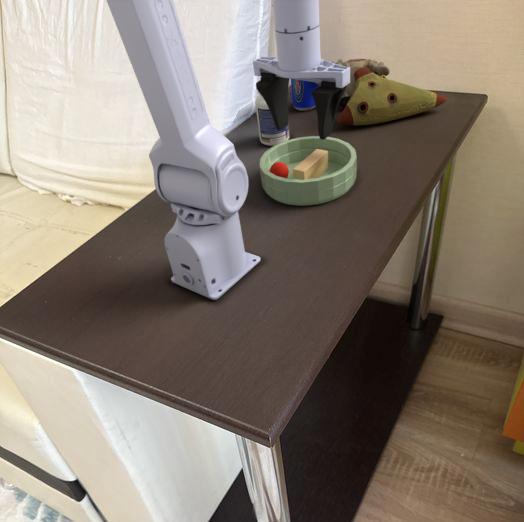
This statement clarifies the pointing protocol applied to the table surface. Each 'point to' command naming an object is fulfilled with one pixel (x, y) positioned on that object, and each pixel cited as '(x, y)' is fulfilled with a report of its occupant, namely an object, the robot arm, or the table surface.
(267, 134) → the pill bottle
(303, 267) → the table surface
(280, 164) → the ball
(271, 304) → the table surface
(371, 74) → the ocarina
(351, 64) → the figurine
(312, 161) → the block
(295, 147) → the bowl
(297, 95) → the blue canister
